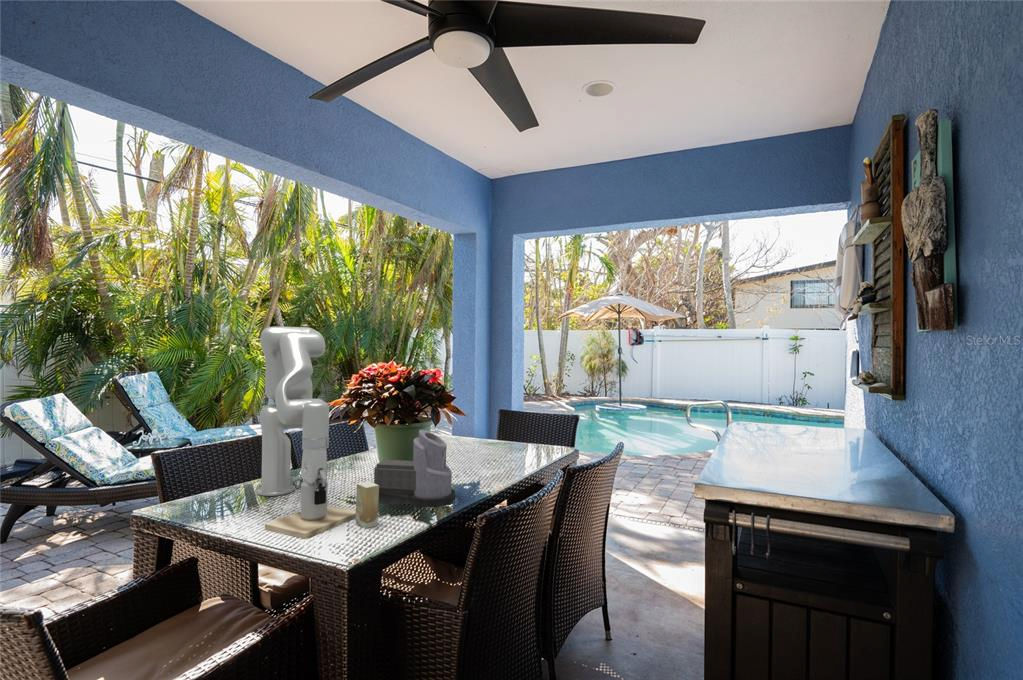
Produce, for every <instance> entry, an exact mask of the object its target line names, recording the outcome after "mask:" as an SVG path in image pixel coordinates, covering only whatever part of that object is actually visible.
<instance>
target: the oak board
mask: <svg viewBox="0 0 1023 680" xmlns="http://www.w3.org/2000/svg"><path fill="white" fill-rule="evenodd" d="M354 519H355V520H356V509H348V508H345V507H344V508H343V507H339V506H335V505H328V504H327V514H326V515H325V516H324V518H322V519H319V520H312V521H310V520H305V519H304V518H302V517H301V511H297V512H295V513H292V514H290V515H287V516H284V517H281V518H278V519H276V520H272V521H270V522H268V523H265V524H264V530H266V531H269V532H274V533H277V534H282V535H287V536H291V537H295V538H299V539H304V540H306V539H309V538H311V537H313V536H316V535H318V534H321V533H323V532H326V531H328V530H331V529H333V528H335V527H337V526H340V525H343V524H345V523H347V522H350V521H351V520H352V521H353V520H354Z"/></svg>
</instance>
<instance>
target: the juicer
mask: <svg viewBox="0 0 1023 680" xmlns="http://www.w3.org/2000/svg"><path fill="white" fill-rule="evenodd" d="M447 447H448V446H447V444H446V442H445V441H444V440H443V439H442V438H441V437H440V436H438V435H436V434H435V433H433V432H432V431H428V430H425V429H419V431H418V437H415V438H414V439H413V447H412V448H413V452H412V455H413V456H412V458H413V459H412V460H402V459H401V460H400V459H383V460H381V461H379V462H378V463H376V466H375V467H374V470H373V473H374V475H373V476H374V479H373V481H374V482H373V483H375V484H377V485H379V502H378V504H389V505H402V504H411V505H410V506H412V505H413V506H412V507H415V506H417V507H416V508H420V507H443V506H446V505H451V504H453V503H455V501H454V500H455V497H456V491H455V490H454V489H452V488H453V487H452V484H453V482H452V481H453V480H452V477H453V476H452V475H453V472H452V470H451V469H450V467H449V466H448V465H447ZM453 501H454V502H453Z"/></svg>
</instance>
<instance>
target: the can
mask: <svg viewBox="0 0 1023 680" xmlns="http://www.w3.org/2000/svg"><path fill="white" fill-rule="evenodd" d="M302 480H303V481H302V482H301V484H300V512H301V517H302V518H304V519H305V520H310V521H312V520H319V519H322V518H324V516H325V515H326V514H327V505H328V483H329V482H328V481H327V482H326V483H327V485H326V503H324V504H319V505H315V504H314V496H315V491H316V488H315V484H314V482H313V484H310V483H308V482H307V481H306V480H305V479H302ZM319 484H320V483H319ZM319 484H318V486H319Z"/></svg>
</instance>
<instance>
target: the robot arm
mask: <svg viewBox="0 0 1023 680" xmlns="http://www.w3.org/2000/svg"><path fill="white" fill-rule="evenodd" d="M260 346H261V350H262V353H263V357H264V361H265V373H264V376H265V378H264V380H265V381H264V392H265V396H266V398H267V399H269V400H273V401H274V402H275V403H270V404H267V405H264V406H263V407H262V408H261V409H260V412H259V421H260V427H261V428H260V430H261V444H262V445H261V486H260V487H258V488H257V489H256V494H257V495H259V496H263V497H272V496H273V497H275V496H277V497H278V496H283V495H287V494H290V493H292V492H294V491H295V489H296V487H295V485H293V484H294V483H296V482H299V481H301V479H302V480H303V479H305V480H306V481H307V482H308V483H310V484H313V482H314V484H315V488H316V491H315V496H314V504H315V505H319V504H324V503H326V485H327V483H326V482H328V456H327V455H328V454H327V452H328V451H327V449H328V448H329V445H330V444H329V443H330V441H329V439H330V438H329V435H330V434H329V433H330V430H329V429H330V428H329V427H330V406H329V403H327V402H325V401H324V400H323V399H321V398H313V382H312V378H311V376H312V375H313V373H314V369H313V364H312V359H311V358H313V357H315V358H316V357H317V358H318V357H322V356H323V355H324V354H325V351H326V342H325V338H324V336H323V334H322V333H320V332H319V331H318V330H316V329H314V328H311V327H306V326H304V327H303V326H302V327H301V326H270V327H269V326H268V327H266V328H264V329H263V330H262V331H261V334H260ZM295 429H297V430H298V429H301V430H302V433H301V435H302V437H301V440H302V441H301V443H302V444H301V450H302V456H301V470H300V475H296V476H291V465H292V463H291V461H292V460H291V459H292V457H291V456H292V454H291V453H292V451H291V450H292V449H291V448H292V447H291V446H292V444H291V439H290V438H289V437H288V435H287V434H286V433H285V432H284V431H287V430H295ZM319 483H320V484H319ZM318 484H319V486H318Z"/></svg>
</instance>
